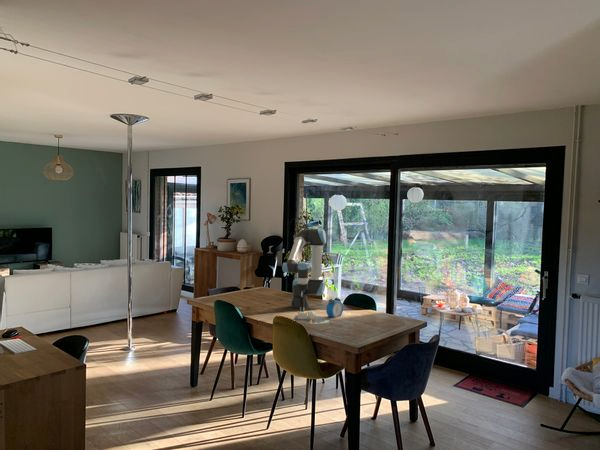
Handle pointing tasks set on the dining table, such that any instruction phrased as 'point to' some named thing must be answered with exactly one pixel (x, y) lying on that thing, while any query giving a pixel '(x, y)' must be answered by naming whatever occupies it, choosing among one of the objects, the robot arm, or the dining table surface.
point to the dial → (310, 316)
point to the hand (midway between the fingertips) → (302, 315)
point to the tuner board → (318, 320)
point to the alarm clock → (334, 307)
